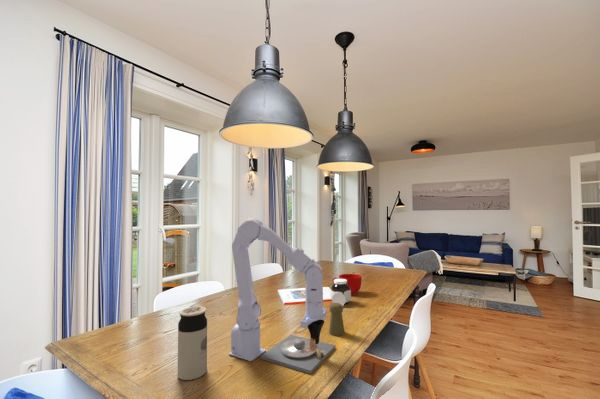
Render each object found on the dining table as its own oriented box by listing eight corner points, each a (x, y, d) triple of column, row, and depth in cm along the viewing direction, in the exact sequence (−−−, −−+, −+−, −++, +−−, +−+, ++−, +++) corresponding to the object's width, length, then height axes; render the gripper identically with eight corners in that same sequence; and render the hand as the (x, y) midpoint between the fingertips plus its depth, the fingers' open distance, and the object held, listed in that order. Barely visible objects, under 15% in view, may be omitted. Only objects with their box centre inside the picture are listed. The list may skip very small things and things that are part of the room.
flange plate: (292, 339, 100) (291, 326, 101) (331, 347, 94) (331, 333, 94) (274, 354, 90) (274, 339, 90) (317, 364, 83) (317, 349, 83)
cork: (334, 328, 112) (333, 300, 113) (347, 332, 109) (346, 303, 109) (325, 333, 108) (325, 304, 108) (339, 337, 104) (338, 307, 105)
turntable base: (260, 359, 89) (260, 346, 89) (290, 337, 105) (290, 327, 105) (310, 374, 80) (310, 360, 80) (335, 348, 96) (335, 336, 96)
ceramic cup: (332, 290, 170) (332, 273, 171) (361, 290, 168) (360, 274, 169) (332, 296, 158) (331, 278, 158) (362, 297, 155) (362, 278, 156)
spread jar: (346, 299, 151) (345, 277, 152) (356, 306, 140) (356, 282, 141) (325, 302, 147) (325, 279, 148) (334, 308, 136) (334, 284, 137)
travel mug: (171, 378, 79) (172, 313, 80) (191, 364, 87) (191, 304, 88) (193, 383, 76) (194, 316, 77) (212, 368, 84) (212, 307, 85)
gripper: (314, 309, 84) (315, 355, 83) (334, 296, 96) (335, 337, 96) (294, 305, 88) (295, 349, 87) (316, 294, 100) (317, 333, 99)
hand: (315, 343), depth 91 cm, fingers closed, pressing on flange plate
